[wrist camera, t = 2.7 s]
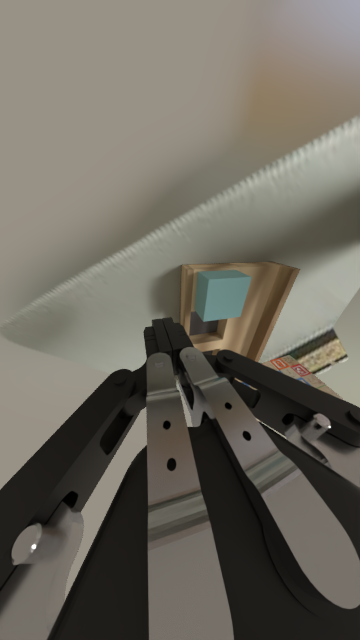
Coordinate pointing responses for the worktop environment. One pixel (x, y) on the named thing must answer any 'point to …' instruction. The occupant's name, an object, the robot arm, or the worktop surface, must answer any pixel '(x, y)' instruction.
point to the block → (221, 294)
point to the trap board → (257, 312)
